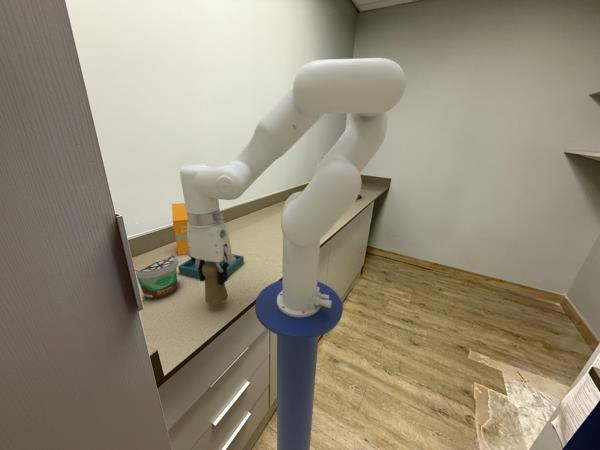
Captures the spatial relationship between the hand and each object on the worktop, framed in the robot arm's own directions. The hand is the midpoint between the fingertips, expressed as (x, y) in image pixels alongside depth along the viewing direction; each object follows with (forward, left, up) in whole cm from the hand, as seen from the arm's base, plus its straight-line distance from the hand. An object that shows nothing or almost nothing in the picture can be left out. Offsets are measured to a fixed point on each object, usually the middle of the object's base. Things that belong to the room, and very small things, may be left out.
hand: (214, 279), depth 66 cm
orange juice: (+32, -26, -9) cm, 42 cm away
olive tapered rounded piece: (0, 0, -6) cm, 6 cm away
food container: (+18, 0, -9) cm, 20 cm away
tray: (+14, -17, -9) cm, 23 cm away
